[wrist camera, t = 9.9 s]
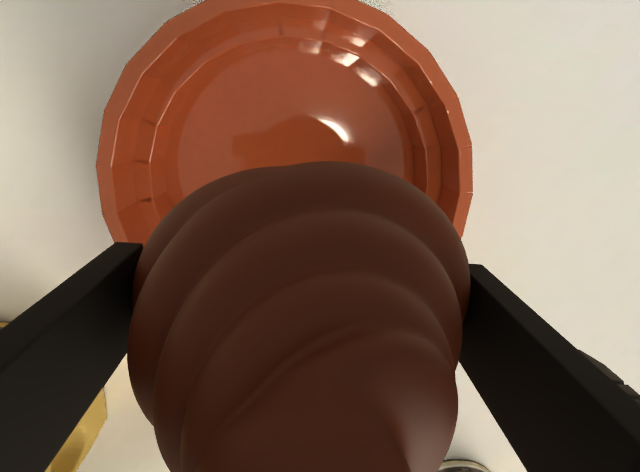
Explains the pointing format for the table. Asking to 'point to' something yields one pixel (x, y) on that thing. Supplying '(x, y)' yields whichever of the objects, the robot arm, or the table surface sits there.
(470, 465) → the coffee can
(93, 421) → the cheese
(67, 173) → the table surface
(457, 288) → the poop emoji
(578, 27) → the table surface
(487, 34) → the table surface
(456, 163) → the bowl
